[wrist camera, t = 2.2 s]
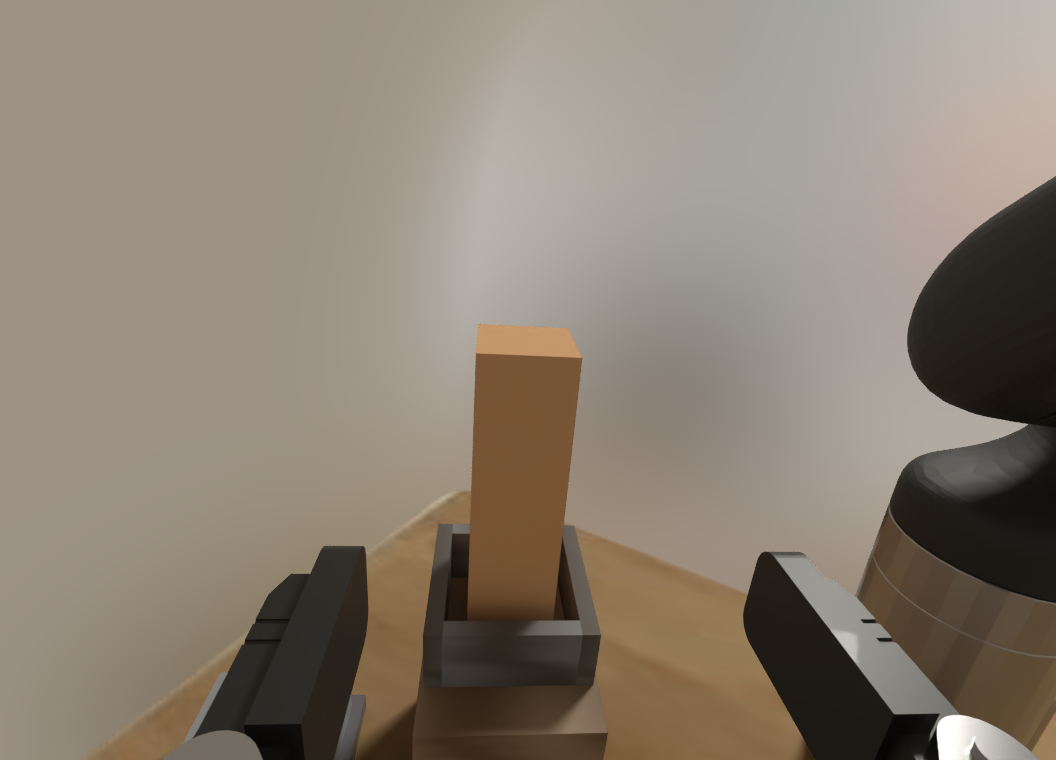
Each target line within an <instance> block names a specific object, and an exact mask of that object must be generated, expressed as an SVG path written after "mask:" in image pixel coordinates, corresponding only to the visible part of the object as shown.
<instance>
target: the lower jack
mask: <svg viewBox="0 0 1056 760" xmlns="http://www.w3.org/2000/svg"><path fill="white" fill-rule="evenodd" d="M227 673H228V672H220V674H219V676H218V678H217V680H216V682H215V684H214V685H213V687H212V689H211V691H210V693H209V695H208V697H207V699H206V700H205V702H204V704H203V706H202V708H201V710H200V712H199V714H198V715H197V717H196V719H195V721H194V723H193V725H192V727H191V729H190V731H189V732H188V734H187V736H186V738H185V740H184V742H183V743H185V742H186V741H188V740H191V739H192V738H193V737H194V735H195V734H196V732H197V730H198V729H199V727H200V725H201V723H202V721H203V719H204V717H205V715H206V714H207V712H208V710H209V708H210V706H211V704H212V702H213V700H214V698H215V696H216V694H217V692H218V691H219V689H220V687H221V685H222V683H223V681H224V679H225V677H226V675H227ZM365 708H366V699H365V695H351V696H350V699H349V703H348V707H347V711H346V715H345V719H344V722H343V726H342V730H341V734H340V738H339V741H338V745H337V749H336V753H335V757H334V760H354V756H355V752H356V747H357V743H358V738H359V734H360V730H361V725H362V721H363V716H364V712H365Z"/></svg>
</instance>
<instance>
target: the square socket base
mask: <svg viewBox="0 0 1056 760" xmlns="http://www.w3.org/2000/svg"><path fill="white" fill-rule="evenodd" d="M469 546H470V524H438V531H437V538H436V546H435V553H434V560H433V567H432V575H431V582H430V589H429V597H428V604H427V611H426V618H425V626H424V633H423V659H422V667H421V674H420V682H419V689H418V697H417V704H416V712H415V719H414V727H413V735H412V760H603V757H604V752H605V746H606V740H607V735H608V731H607V726H606V722H605V717H604V712H603V708H602V703H601V698H600V694H599V689H598V684H597V680H596V675H595V671H596V664H597V658H598V651H599V645H600V638H601V633H600V629H599V625H598V621H597V616H596V612H595V608H594V604H593V600H592V596H591V592H590V588H589V584H588V580H587V576H586V572H585V568H584V563H583V559H582V555H581V551H580V547H579V543H578V539H577V535H576V531H575V527H574V526H563V535H562V544H561V553H560V562H559V571H558V580H557V589H556V598H555V607H554V616H553V621H467V605H468V575H469Z"/></svg>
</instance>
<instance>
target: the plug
mask: <svg viewBox="0 0 1056 760" xmlns="http://www.w3.org/2000/svg"><path fill="white" fill-rule="evenodd" d="M581 364H582V357H581V354H580V352H579V350H578V348H577V346H576V344H575V342H574V340H573V338H572V336H571V334H570V332H569V330H568V329H567V328H548V327H526V326H525V327H524V326H505V325H485V324H484V325H483V324H478V334H477V347H476V368H475V399H474V427H473V459H472V460H473V461H472V487H471V516H470V546H469V575H468V605H467V621H553V616H554V607H555V598H556V589H557V580H558V571H559V562H560V553H561V544H562V535H563V526H564V516H565V507H566V499H567V489H568V481H569V472H570V463H571V454H572V445H573V436H574V427H575V418H576V408H577V400H578V391H579V382H580V372H581Z"/></svg>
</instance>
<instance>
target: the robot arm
mask: <svg viewBox="0 0 1056 760" xmlns="http://www.w3.org/2000/svg"><path fill="white" fill-rule="evenodd" d="M907 346H908V353H909V357H910V360H911V364H912V367H913V369H914V371H915V372H916V374H917V376H918V378H919V379H920V380H921V382H922V383H923V384H924V385H925V386H926V387H927V388H928V390H929V391H930V392H932V393H933V394H935V395H936V396H937V397H939V398H940V399H942V400H943V401H945V402H947V403H949V404H951V405H954V406H956V407H959V408H961V409H964V410H966V411H968V412H971V413H975V414H978V415H982V416H986V417H991V418H997V419H1002V420H1008V421H1013V422H1020V423H1026V424H1028V425H1027V426H1026V427H1024V428H1022V429H1021V430H1019V431H1016V432H1014V433H1012V434H1010V435H1007V436H1005V437H1002V438H999V439H996V440H993V441H990V442H986V443H982V444H978V445H973V446H967V447H962V448H955V449H949V450H943V451H936V452H932V453H927V454H924V455H922V456H919V457H917V458H915V459H914V460H912V461H911V462H910V463H908V465H907V466H906V467H905V468H904V469H903V471H902V472H901V475H900V477H899V479H898V481H897V484H896V487H895V489H894V492H893V494H892V497H891V500H890V503H889V505H888V508H887V511H886V513H885V516H884V519H883V521H882V524H881V527H880V529H879V532H878V535H877V537H876V540H875V543H874V545H873V549H872V551H871V554H870V557H869V559H868V562H867V565H866V568H865V570H864V573H863V576H862V579H861V581H860V584H859V586H858V589H857V592H856V594H855V596H854V595H852V594H851V593H850V592H848V591H847V590H846V589H844V588H843V587H841V586H840V585H838V584H837V583H836V582H835V581H833V580H832V579H830V578H825V577H824V576H823V575H822V573H821V572H820V571H819V570H818V569H817V568H816V566H815V565H814V564H813V563H812V562H811V561H810V559H809V558H808V557H807V556H806V555H804V554H803V553H801V552H763V553H761V555H760V556H759V558H758V560H757V563H756V567H755V571H754V574H753V578H752V581H751V585H750V589H749V592H748V596H747V600H746V603H745V607H744V613H743V621H744V628H745V632H746V636H747V638H748V641H749V643H750V645H751V646H752V648H753V650H754V652H755V653H756V655H757V657H758V659H759V661H760V662H761V664H762V666H763V668H764V669H765V671H766V673H767V675H768V676H769V678H770V680H771V682H772V683H773V685H774V687H775V689H776V691H777V692H778V694H779V696H780V698H781V699H782V701H783V703H784V705H785V706H786V708H787V710H788V712H789V713H790V715H791V717H792V719H793V721H794V722H795V724H796V726H797V728H798V729H799V731H800V733H801V735H802V736H803V738H804V740H805V742H806V743H807V745H808V747H809V749H810V750H811V752H812V754H813V756H814V758H815V759H816V760H1039V759H1038V758H1037V757H1036V756H1035V755H1034V754H1033V753H1032V750H1033V748H1034V747H1035V745H1036V743H1037V742H1038V740H1039V738H1040V737H1041V735H1042V734H1043V732H1044V730H1045V729H1046V727H1047V725H1048V724H1049V722H1050V720H1051V719H1052V717H1053V715H1054V714H1055V712H1056V176H1055V177H1054V178H1052V179H1050V180H1049V181H1047V182H1046V183H1044V184H1043V185H1041V186H1039V187H1038V188H1036V189H1035V190H1033V191H1032V192H1030V193H1028V194H1027V195H1025V196H1024V197H1022V198H1021V199H1019V200H1017V201H1016V202H1014V203H1013V204H1011V205H1010V206H1008V207H1006V208H1005V209H1003V210H1002V211H1000V212H999V213H997V214H996V215H994V216H993V217H991V218H990V219H989V220H987V221H986V222H985V223H983V224H982V225H981V226H979V227H978V228H977V229H975V230H974V231H973V232H972V233H970V234H969V235H968V236H967V237H966V238H965V239H964V240H963V241H962V242H961V243H960V244H959V245H958V246H956V247H955V248H954V249H953V250H952V251H951V252H950V253H949V254H948V256H947V257H946V258H945V259H944V260H943V262H942V263H941V264H940V265H939V266H938V268H937V269H936V270H935V271H934V273H933V274H932V276H931V277H930V279H929V280H928V282H927V283H926V285H925V286H924V288H923V290H922V292H921V293H920V295H919V298H918V300H917V302H916V304H915V307H914V309H913V312H912V316H911V319H910V323H909V327H908V335H907ZM367 622H368V592H367V569H366V552H365V548H364V547H363V546H324V547H323V548H322V550H321V551H320V553H319V556H318V558H317V560H316V562H315V565H314V567H313V569H312V571H311V574H291V575H289V576H288V577H287V578H286V579H285V580H284V581H283V582H282V583H281V584H279V585H278V586H277V587H276V588H275V589H274V590H273V591H272V592H271V593H270V594H269V595H268V597H267V598H266V600H265V602H264V604H263V607H262V608H261V610H260V612H259V614H258V616H257V618H256V622H255V624H253V625H252V627H251V629H250V631H249V633H248V635H247V637H246V639H245V644H244V645H242V646H241V648H240V650H239V652H238V654H237V656H236V658H235V660H234V662H233V664H232V666H231V667H230V669H229V671H228V673H227V675H226V677H225V679H224V681H223V683H222V685H221V687H220V689H219V691H218V692H217V694H216V696H215V698H214V700H213V702H212V704H211V706H210V708H209V710H208V712H207V714H206V715H205V717H204V719H203V721H202V723H201V725H200V727H199V729H198V730H197V732H196V734H195V735H194V737H193V738H192V739H191V740H188V741H186V742H185V743H183V744H181V745H180V746H178V747H176V748H175V749H174V750H172V751H171V752H170V753H168V754H167V755H166V756H165V757H164V758H163V759H162V760H334V757H335V753H336V749H337V745H338V741H339V738H340V734H341V730H342V726H343V722H344V719H345V715H346V711H347V707H348V703H349V699H350V696H351V692H352V688H353V684H354V680H355V676H356V673H357V669H358V665H359V661H360V657H361V653H362V650H363V646H364V642H365V637H366V630H367Z"/></svg>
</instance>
